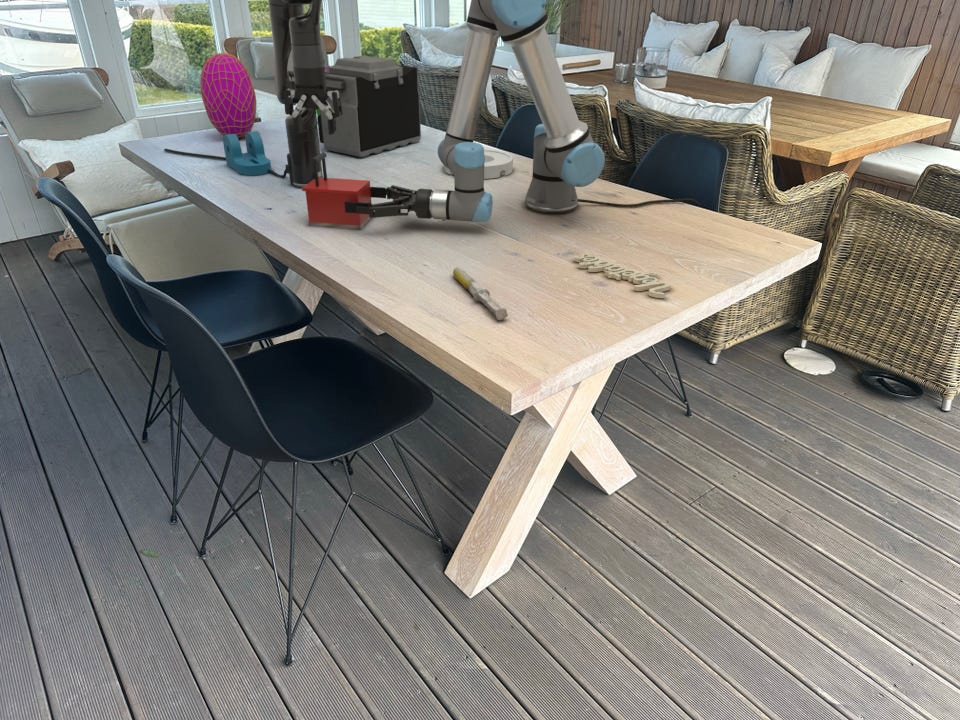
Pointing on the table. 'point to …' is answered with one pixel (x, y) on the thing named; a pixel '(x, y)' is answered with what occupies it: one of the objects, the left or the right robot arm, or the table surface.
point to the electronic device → (372, 106)
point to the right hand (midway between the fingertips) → (354, 198)
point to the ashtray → (494, 164)
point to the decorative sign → (625, 274)
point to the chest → (336, 209)
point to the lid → (333, 181)
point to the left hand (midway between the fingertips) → (316, 133)
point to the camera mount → (246, 154)
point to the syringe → (479, 293)
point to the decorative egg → (228, 95)
